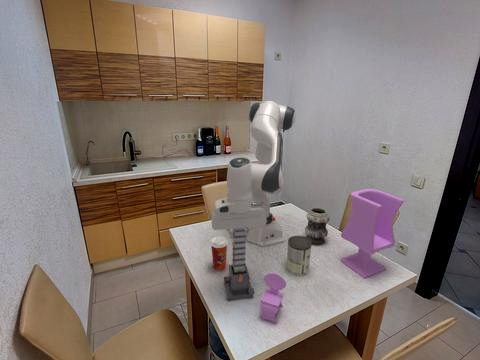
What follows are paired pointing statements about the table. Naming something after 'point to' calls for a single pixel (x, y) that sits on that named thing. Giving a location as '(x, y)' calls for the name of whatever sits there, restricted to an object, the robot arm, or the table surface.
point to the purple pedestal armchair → (370, 229)
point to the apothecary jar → (317, 225)
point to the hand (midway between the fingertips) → (238, 237)
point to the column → (239, 250)
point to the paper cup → (219, 252)
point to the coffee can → (298, 255)
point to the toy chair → (272, 296)
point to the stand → (238, 285)
